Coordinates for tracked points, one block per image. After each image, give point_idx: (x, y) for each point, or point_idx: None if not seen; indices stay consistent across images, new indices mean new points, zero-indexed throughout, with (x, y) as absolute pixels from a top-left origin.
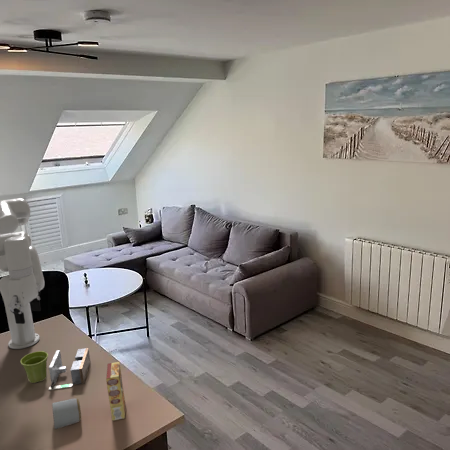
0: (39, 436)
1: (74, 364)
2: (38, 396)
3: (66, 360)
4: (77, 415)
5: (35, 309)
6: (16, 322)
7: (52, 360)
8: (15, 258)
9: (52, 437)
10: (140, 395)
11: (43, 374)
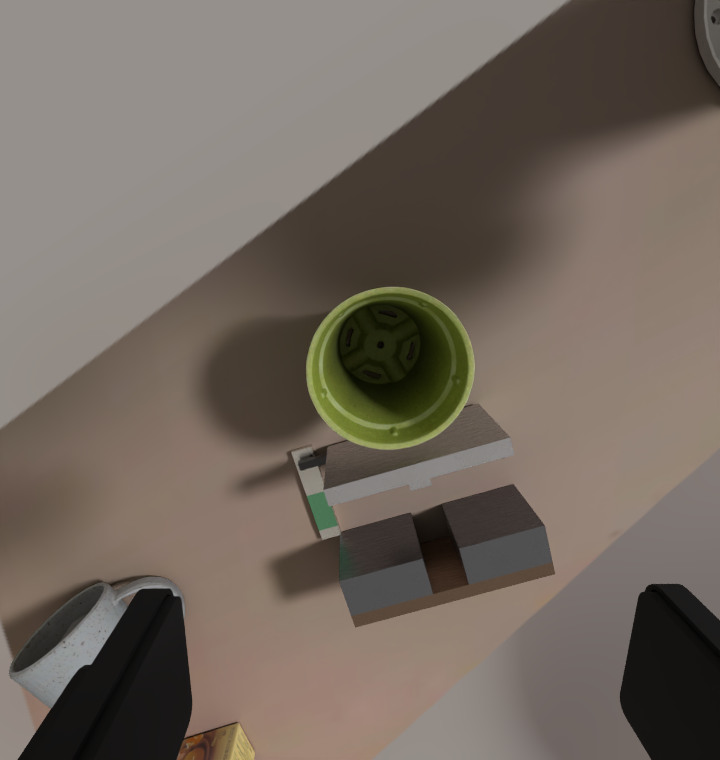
0: (27, 562)
1: (391, 576)
2: (245, 428)
3: (539, 406)
4: None
5: (651, 668)
6: (136, 609)
7: (397, 471)
8: None
9: (35, 607)
10: None
11: (368, 395)
